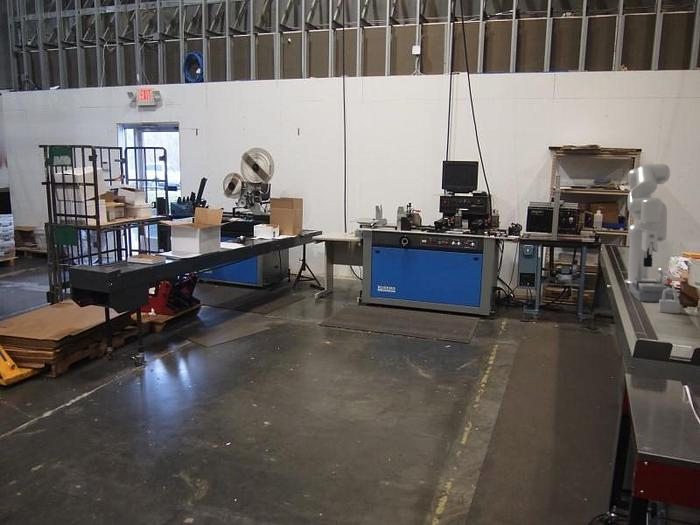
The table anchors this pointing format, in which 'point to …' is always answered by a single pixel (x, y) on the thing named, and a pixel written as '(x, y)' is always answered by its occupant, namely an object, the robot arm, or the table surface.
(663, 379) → the table surface
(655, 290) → the chassis
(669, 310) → the padlock
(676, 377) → the table surface
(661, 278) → the cable arm
